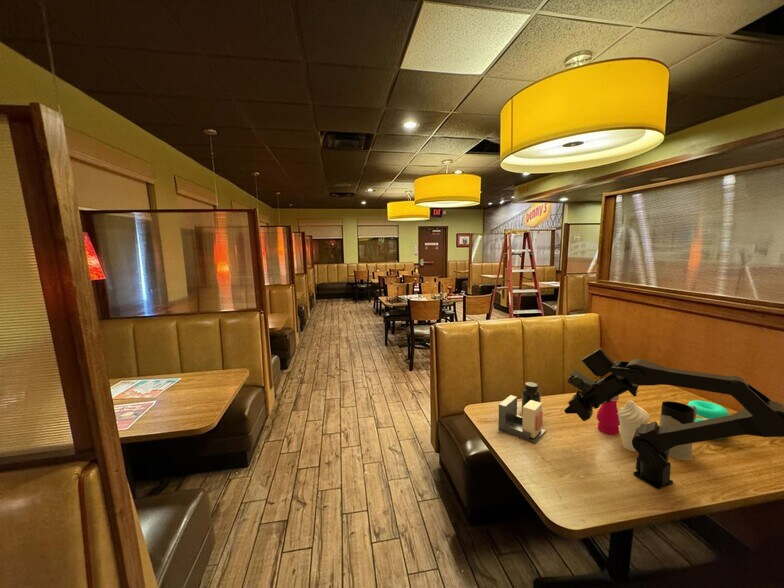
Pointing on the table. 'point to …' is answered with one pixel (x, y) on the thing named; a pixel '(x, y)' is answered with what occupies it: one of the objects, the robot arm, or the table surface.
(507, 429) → the press stand
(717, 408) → the donuts
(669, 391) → the table surface
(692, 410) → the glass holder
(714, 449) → the table surface
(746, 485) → the table surface
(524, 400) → the supplement bottle
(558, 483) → the table surface
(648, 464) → the robot arm
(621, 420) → the soft serve ice cream cone
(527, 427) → the cream block orange label
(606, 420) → the pepper mill
